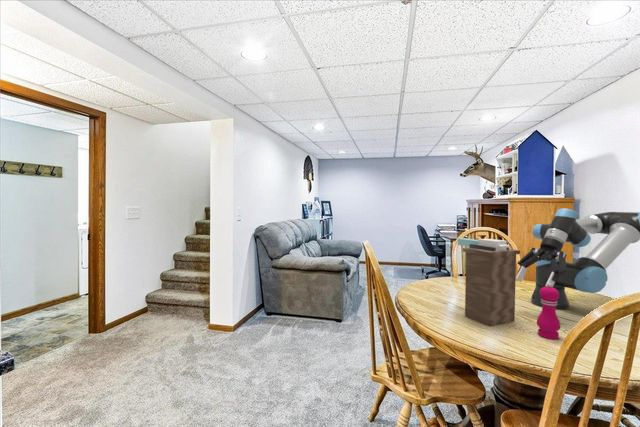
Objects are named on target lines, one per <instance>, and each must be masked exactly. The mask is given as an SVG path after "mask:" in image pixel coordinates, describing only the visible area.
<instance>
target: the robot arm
mask: <svg viewBox="0 0 640 427" xmlns="http://www.w3.org/2000/svg"><path fill="white" fill-rule="evenodd" d="M590 234H591V235H592V234H595V235H596V234H601V235H606V236H605V237H603V239H602V240H601V241H600V242H599V243H598V244H597V245H596V246H595V247H594V248H593V249H592V250H590V252H588V253H587V255H585V256H581V257H578V258H576V260H575V261H574V262H567V260H566V258H567V253H565V252H564V251H562V249H563V247H564V245H565V243H570V245H572V246H574V247H576V248H582V247H586V246H588V245H589V243H590V242H591V240H592V237H591V235H590ZM532 235H533V237H534V238H535V239H537V240H541V243H540V246H539V248H538V249H537V248H535V247H532V248H531V249H530V250H529V252H528V253H526V254H525V255H524V256H523V257H522V258H521V259H520V260H518V261H517V262H516V265H517V264H518V266H519V269H518V271H517V275H516V280H517V281H518V283H519V282H520V283H522V281H523V279H524V277H525V275H526V272H527V271H528V268H529V267H531V266H532V265H535V288H534V290H533V293H532V295H531V298H530V299H531V300H530V301H531V302H530V303H532V304H533V305H535V306H538V307H542V303H541V299H542V297H541V296H540V294H539V292H540V289H541V288H543V287H547V283H551V284H552V287H553V288H555V289H556V290H557V291H558V292H559V298H558V299H557V300H556V301H557V305H556V308H555V310H567V309H569V308H570V302H569V298H568V297H567V294H566V288H567V289H572V290H576V291H580V292H584V293H590V294H596V293H599V292H601V291H602V290H603V289H604V288H605V287H606V285H607V282H608V278H609V277H608V273H607V268H608V267H610V266H611V264H613V262H615V260H616V259H617V258H618V257H619V256H620V255H621V254H622V253H623V252H624V251H625V250H626V248H628V247H629V245H630V244H635V243H637V242H639V241H640V211H638V212H636V211H635V212H632V211H630V212H629V211H627V212H625V211H623V212H622V211H607V212H600V213H595V214H589V215H586V216H584V217H583V218H579V219H578V212H577V211H574V210H573V209H570V208H564V207H563V208H559V209H558V210H557V211H556V213H555V215H554V216H553V218H552V220H551V223H537V224H535V225H534V226H533V228H532ZM535 263H536V264H535Z"/></svg>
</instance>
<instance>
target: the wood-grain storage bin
mask: <svg viewBox="0 0 640 427" xmlns="http://www.w3.org/2000/svg"><path fill="white" fill-rule="evenodd" d="M463 252H464V253H465V290H464V291H465V295H464V298H465V299H464V300H465V302H464V304H465V305H464V317H465V318H468V319H471V320H473V321H475V322H477V323H480V324H481V325H485V326H487V327H492V326H497V325H502V324H507V323H513V322H515V321H516V319H515V317H516V316H515V314H516V313H515V312H516V280H517V279H516V277H517V275H516V274H517V272H516V271H517V270H516V268H517V255H521V250H519V249H514V248H510V247H509V248H507V249H506V251H495V247H488V246H481V245H474V244H469V247H463V248H462V253H463Z"/></svg>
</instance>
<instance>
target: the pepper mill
mask: <svg viewBox="0 0 640 427" xmlns="http://www.w3.org/2000/svg"><path fill="white" fill-rule="evenodd" d="M539 294H540V296H541V297H542V299H541V303H542V306H541V311H540V314H539V315H538V316H537V320H536V325H537V326H538V327H539V328H538V330H537V335H538V336H540V337H542V338H545V339H548V340H558V339H559V335H560V334H559V330H561V323H560V320H559V317H558V315H557V313H556V309H555V308H556V305H557V301H556V300H557V299H558V298H559V292H558V291H557V290H556V289H555V288H553V287H552V284H551V283H547V287H543V288H541V289H540V292H539Z"/></svg>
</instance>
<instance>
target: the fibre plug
mask: <svg viewBox="0 0 640 427" xmlns="http://www.w3.org/2000/svg"><path fill="white" fill-rule="evenodd" d="M507 242H508V241H507V240H502V239H496V238H495V239H494V238H478V239H471V238H464V237H463V238H462V237H461V238H460V237H459V238H457V245H458V246H463V247H467V248H469V244H474V245H481V246H488V247H495V251H506V249H507V248H509V249H510V244H507Z"/></svg>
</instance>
